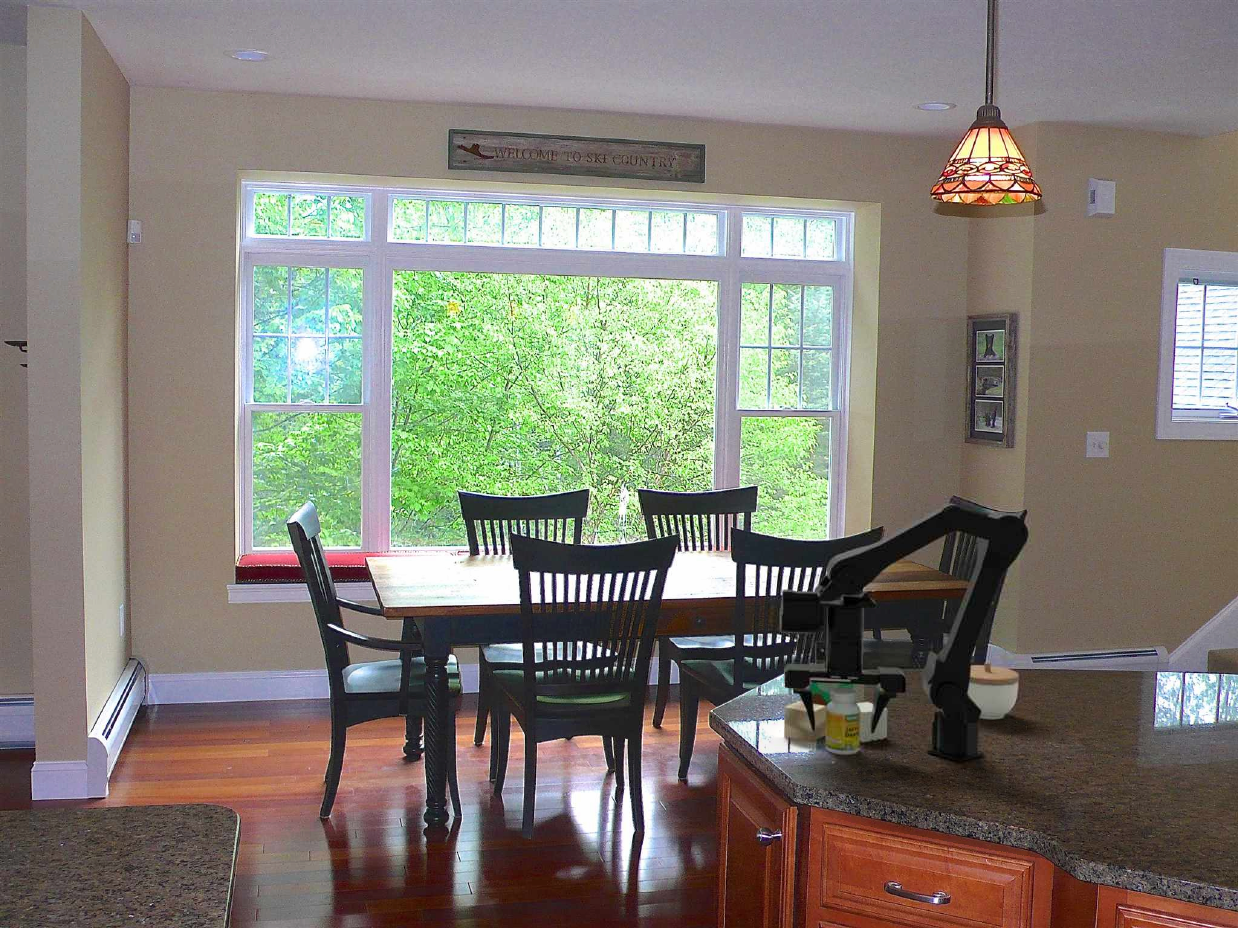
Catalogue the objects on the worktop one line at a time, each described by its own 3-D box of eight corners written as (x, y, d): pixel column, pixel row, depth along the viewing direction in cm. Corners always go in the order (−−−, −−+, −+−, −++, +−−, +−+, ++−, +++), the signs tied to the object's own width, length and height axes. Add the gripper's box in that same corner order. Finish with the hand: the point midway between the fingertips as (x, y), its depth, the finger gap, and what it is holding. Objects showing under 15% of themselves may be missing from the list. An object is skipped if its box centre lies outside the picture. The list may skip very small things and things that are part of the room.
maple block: (825, 735, 194) (826, 705, 194) (811, 742, 190) (811, 712, 190) (798, 730, 197) (799, 700, 197) (784, 736, 193) (784, 707, 193)
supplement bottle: (838, 743, 190) (839, 684, 189) (866, 750, 186) (867, 691, 185) (818, 749, 186) (819, 690, 185) (846, 757, 182) (847, 696, 181)
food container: (838, 726, 199) (840, 668, 199) (806, 719, 203) (807, 663, 202) (870, 711, 209) (871, 656, 209) (838, 705, 213) (839, 651, 212)
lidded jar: (1031, 719, 205) (1032, 667, 204) (981, 725, 201) (983, 671, 200) (990, 704, 215) (992, 654, 214) (942, 709, 211) (943, 658, 210)
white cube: (886, 738, 193) (887, 708, 192) (862, 742, 190) (863, 712, 190) (866, 730, 197) (867, 701, 197) (843, 734, 195) (844, 705, 194)
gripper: (899, 626, 192) (896, 720, 192) (784, 622, 194) (782, 715, 195) (907, 640, 181) (904, 739, 181) (785, 636, 183) (783, 734, 184)
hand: (842, 731), depth 186 cm, fingers open, 9 cm apart
